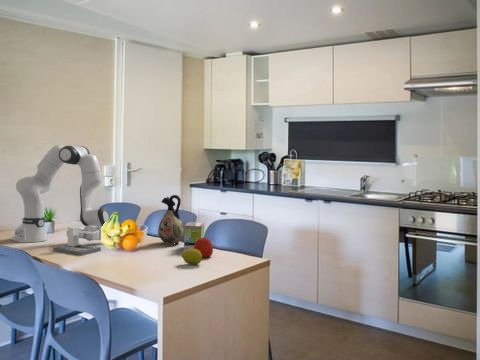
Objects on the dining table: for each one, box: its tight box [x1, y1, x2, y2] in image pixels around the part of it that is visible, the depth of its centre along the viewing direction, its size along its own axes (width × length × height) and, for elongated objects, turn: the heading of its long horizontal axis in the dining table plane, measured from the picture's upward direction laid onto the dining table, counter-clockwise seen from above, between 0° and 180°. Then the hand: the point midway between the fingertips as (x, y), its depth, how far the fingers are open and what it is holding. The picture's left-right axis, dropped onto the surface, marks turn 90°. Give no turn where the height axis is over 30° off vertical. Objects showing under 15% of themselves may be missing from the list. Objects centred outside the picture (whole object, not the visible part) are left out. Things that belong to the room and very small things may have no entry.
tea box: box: [183, 221, 205, 252], centre depth 261 cm, size 15×10×15 cm, turn 179°
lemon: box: [180, 249, 203, 266], centre depth 223 cm, size 11×8×8 cm
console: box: [52, 243, 102, 257], centre depth 249 cm, size 21×14×3 cm, turn 62°
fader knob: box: [65, 226, 82, 247], centre depth 250 cm, size 6×5×10 cm
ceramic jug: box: [157, 194, 185, 245], centre depth 275 cm, size 17×15×30 cm
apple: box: [194, 237, 214, 258], centre depth 241 cm, size 10×10×10 cm
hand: (71, 236), depth 249 cm, fingers closed on fader knob, 4 cm apart
